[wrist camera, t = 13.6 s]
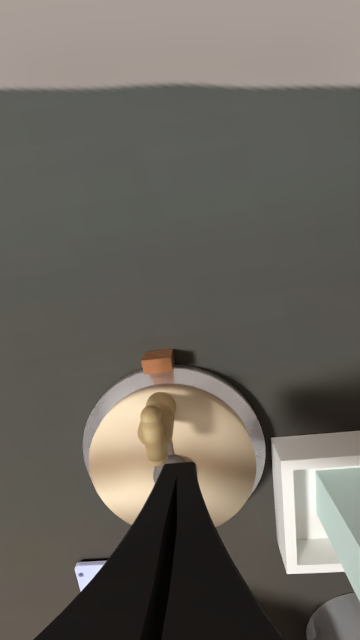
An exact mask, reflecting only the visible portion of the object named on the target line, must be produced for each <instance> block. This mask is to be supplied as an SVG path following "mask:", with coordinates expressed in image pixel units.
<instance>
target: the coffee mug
mask: <svg viewBox="0 0 360 640" xmlns="http://www.w3.org/2000/svg"><path fill="white" fill-rule="evenodd" d="M306 636H307V640H360V602H359V599H358V597H357V595H356V593H355V592H353V593H348V594H345V595H341V596H338V597H335V598H333V599H331V600H329V601H327V602H326V603H324V604H323V605H321V606H320V607H319V608H318V609H317V610H316V611H315V612H314V613H313V615H312V616H311V618H310V620H309V622H308V625H307V629H306Z"/></svg>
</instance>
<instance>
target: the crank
mask: <svg viewBox="0 0 360 640" xmlns="http://www.w3.org/2000/svg"><path fill="white" fill-rule="evenodd" d="M183 462H194V463H195V464H196V470H197V478H198V483H199V487H200V490H201V493H202V496H203V499H204V501H205V504H206V507H207V509H208V512H209V514H210V517H211V519H212V521H213V524H214V526H215V527H217V526H219V525H221V524H223V523H224V522H226V521H227V520H229V519H230V518H231V517H233V516H234V515H235V514H236V513H237V512H238V511H239V510H240V509H241V508H242V507H243V505H244V504H245V502H246V501H247V499H248V497H249V495H250V493H251V491H252V489H253V486H254V482H255V477H256V458H255V452H254V449H253V446H252V443H251V439H250V436H249V433H248V431H247V429H246V427H245V425H244V423H243V421H242V420H241V418H240V417H239V416H238V414H237V413H236V412H235V411H234V410H233V409H232V408H231V407H230V406H229V405H228V404H227V403H225V402H224V401H223V400H221V399H220V398H218V397H217V396H215V395H213V394H211V393H209V392H207V391H205V390H202V389H200V388H197V387H193V386H188V385H184V384H158V385H151V386H148V387H144V388H141V389H138V390H136V391H134V392H132V393H130V394H128V395H126V396H125V397H123V398H122V399H120V400H119V401H118V402H117V403H116V404H114V405H113V407H112V408H111V409H110V410H109V411H108V412H107V414H106V415H105V417H104V418H103V420H102V421H101V423H100V425H99V427H98V428H97V430H96V432H95V434H94V436H93V439H92V442H91V446H90V451H89V469H90V475H91V478H92V482H93V484H94V487H95V489H96V491H97V493H98V494H99V496H100V497H101V499H102V500H103V502H104V503H105V504H106V505H107V506H108V508H109V509H110V510H112V511H113V512H114V513H115V514H116V515H117V516H119V517H120V518H121V519H123V520H124V521H126V522H127V523H129V524H131V525H132V524H133V523H134V521H135V519H136V518H137V516H138V514H139V513H140V511H141V509H142V508H143V506H144V504H145V502H146V500H147V498H148V497H149V495H150V493H151V491H152V489H153V487H154V485H155V483H156V481H157V479H158V477H159V474H160V472H161V470H162V467H163V466H164V464H170V463H183Z"/></svg>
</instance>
